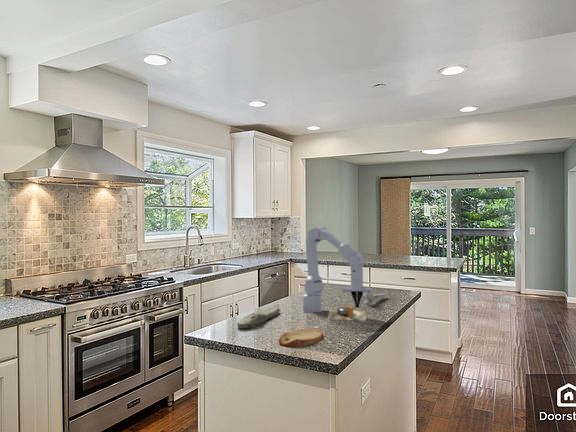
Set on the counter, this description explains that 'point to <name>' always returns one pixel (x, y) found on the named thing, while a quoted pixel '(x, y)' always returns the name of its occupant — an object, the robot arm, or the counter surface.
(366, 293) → the wrench
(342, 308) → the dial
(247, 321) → the elongated rock
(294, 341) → the bread slice
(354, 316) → the panel
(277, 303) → the counter surface
